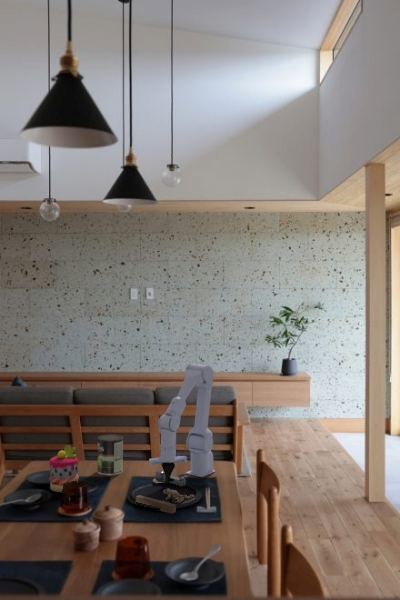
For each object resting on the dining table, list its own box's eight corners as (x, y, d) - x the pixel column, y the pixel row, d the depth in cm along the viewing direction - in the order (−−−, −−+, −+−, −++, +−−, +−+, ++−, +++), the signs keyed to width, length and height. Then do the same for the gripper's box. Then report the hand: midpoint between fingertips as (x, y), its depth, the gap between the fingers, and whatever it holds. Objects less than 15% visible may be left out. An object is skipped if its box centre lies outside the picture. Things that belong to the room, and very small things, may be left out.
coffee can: (101, 476, 260) (101, 441, 259) (94, 469, 269) (94, 435, 269) (126, 473, 264) (126, 438, 264) (118, 467, 273) (118, 433, 273)
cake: (71, 493, 240) (71, 452, 240) (44, 491, 242) (44, 450, 242) (82, 484, 250) (82, 445, 250) (56, 482, 253) (56, 443, 252)
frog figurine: (155, 504, 231) (155, 493, 230) (168, 493, 242) (168, 483, 242) (186, 508, 227) (186, 497, 227) (197, 497, 238) (198, 487, 238)
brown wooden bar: (139, 502, 231) (139, 495, 231) (175, 512, 222) (175, 504, 222) (135, 503, 229) (135, 496, 229) (171, 513, 220) (171, 506, 220)
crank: (153, 479, 255) (153, 468, 255) (161, 476, 258) (161, 466, 258) (179, 487, 245) (179, 476, 245) (187, 484, 249) (187, 473, 248)
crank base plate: (159, 477, 259) (159, 476, 259) (172, 480, 256) (172, 479, 256) (149, 481, 254) (149, 480, 254) (162, 484, 251) (162, 483, 251)
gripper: (153, 450, 243) (152, 487, 243) (190, 447, 248) (189, 483, 249) (147, 445, 250) (146, 481, 250) (183, 443, 255) (182, 478, 255)
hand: (167, 482), depth 250 cm, fingers closed, pressing on crank
